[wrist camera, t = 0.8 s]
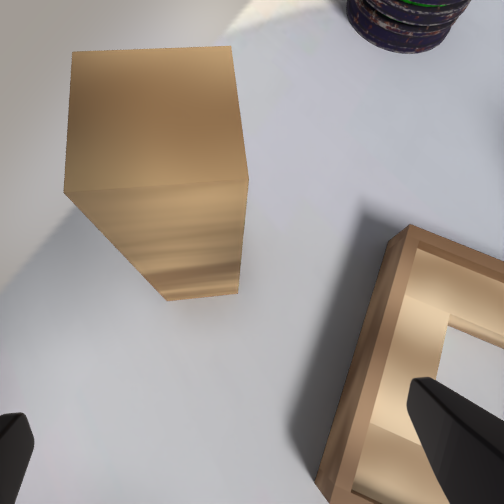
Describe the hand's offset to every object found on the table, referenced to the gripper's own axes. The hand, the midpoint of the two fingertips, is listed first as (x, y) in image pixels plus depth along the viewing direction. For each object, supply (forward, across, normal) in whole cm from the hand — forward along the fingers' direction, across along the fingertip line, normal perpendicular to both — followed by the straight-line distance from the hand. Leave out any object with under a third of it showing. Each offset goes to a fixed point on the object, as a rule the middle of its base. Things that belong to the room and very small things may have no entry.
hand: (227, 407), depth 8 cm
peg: (+15, +2, +3) cm, 15 cm away
